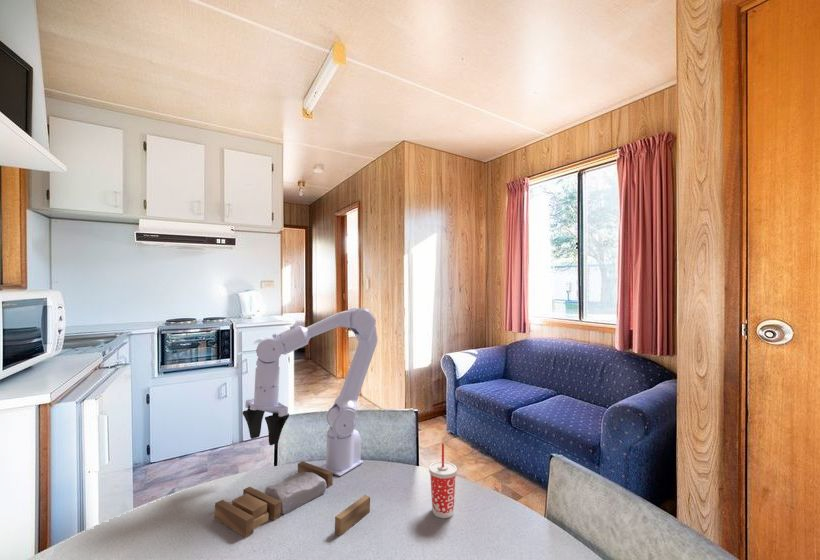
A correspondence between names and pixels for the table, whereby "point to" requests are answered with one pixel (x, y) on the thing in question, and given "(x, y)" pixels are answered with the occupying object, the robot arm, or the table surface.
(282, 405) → the robot arm
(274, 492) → the stone block
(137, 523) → the table surface
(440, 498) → the beverage cup
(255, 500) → the offcut top
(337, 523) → the wooden bar set
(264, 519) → the offcut low
